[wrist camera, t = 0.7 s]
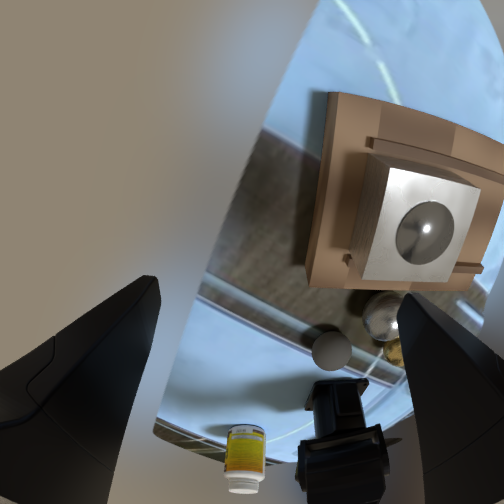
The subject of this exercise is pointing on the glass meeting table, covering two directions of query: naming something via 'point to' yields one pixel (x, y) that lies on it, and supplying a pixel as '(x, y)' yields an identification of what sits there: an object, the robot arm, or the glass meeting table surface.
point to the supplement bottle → (245, 458)
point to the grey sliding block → (410, 221)
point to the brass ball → (393, 352)
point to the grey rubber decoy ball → (331, 351)
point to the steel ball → (382, 315)
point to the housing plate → (406, 148)
